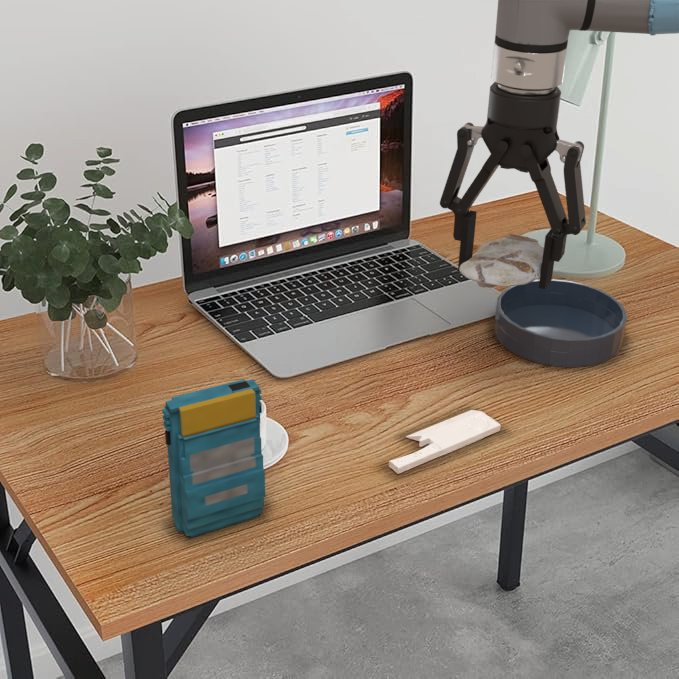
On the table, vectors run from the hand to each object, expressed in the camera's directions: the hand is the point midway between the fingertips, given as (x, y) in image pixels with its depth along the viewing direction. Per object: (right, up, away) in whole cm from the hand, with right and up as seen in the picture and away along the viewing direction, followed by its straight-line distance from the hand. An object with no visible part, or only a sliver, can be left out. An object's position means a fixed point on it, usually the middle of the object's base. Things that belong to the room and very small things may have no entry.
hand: (504, 274), depth 124 cm
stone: (0, 0, 0) cm, 0 cm away
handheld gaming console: (-31, -26, -15) cm, 44 cm away
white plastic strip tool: (-8, -19, -3) cm, 21 cm away
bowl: (+10, -7, +19) cm, 23 cm away
